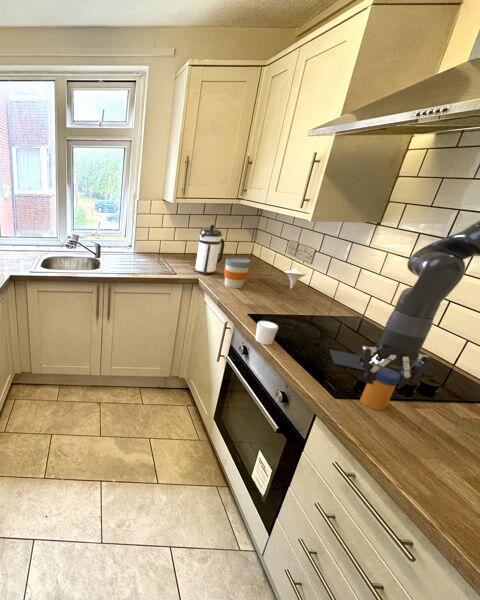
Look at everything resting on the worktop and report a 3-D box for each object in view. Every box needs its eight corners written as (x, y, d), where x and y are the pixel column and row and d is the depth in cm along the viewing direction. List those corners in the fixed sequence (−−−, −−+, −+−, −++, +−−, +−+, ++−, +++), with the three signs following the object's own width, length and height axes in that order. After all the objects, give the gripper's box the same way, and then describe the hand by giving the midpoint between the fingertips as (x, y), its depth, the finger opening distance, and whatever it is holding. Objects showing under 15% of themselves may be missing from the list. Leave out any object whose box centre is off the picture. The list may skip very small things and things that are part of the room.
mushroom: (278, 284, 180) (283, 264, 175) (300, 287, 176) (306, 266, 171) (281, 290, 171) (286, 269, 167) (304, 293, 167) (310, 271, 163)
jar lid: (402, 381, 83) (405, 375, 83) (392, 387, 81) (395, 381, 80) (376, 369, 88) (378, 363, 87) (365, 375, 86) (368, 369, 85)
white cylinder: (273, 347, 116) (278, 330, 113) (252, 342, 119) (256, 325, 116) (274, 339, 121) (279, 323, 118) (254, 334, 124) (258, 318, 122)
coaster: (329, 350, 114) (329, 349, 114) (364, 358, 109) (365, 356, 109) (333, 364, 106) (334, 363, 105) (372, 373, 101) (372, 371, 101)
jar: (375, 397, 90) (387, 369, 86) (390, 410, 85) (404, 381, 82) (355, 396, 91) (366, 368, 87) (369, 409, 86) (382, 380, 82)
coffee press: (218, 277, 191) (227, 227, 180) (190, 273, 198) (198, 225, 186) (219, 270, 206) (228, 223, 195) (194, 266, 212) (201, 221, 201)
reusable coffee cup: (234, 281, 185) (239, 256, 180) (250, 288, 174) (256, 261, 169) (216, 282, 182) (221, 257, 177) (231, 290, 171) (236, 263, 165)
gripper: (378, 331, 78) (355, 387, 84) (454, 341, 73) (424, 399, 80) (364, 318, 84) (344, 371, 91) (433, 327, 80) (407, 382, 86)
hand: (381, 384), depth 85 cm, fingers closed on jar lid, 5 cm apart
